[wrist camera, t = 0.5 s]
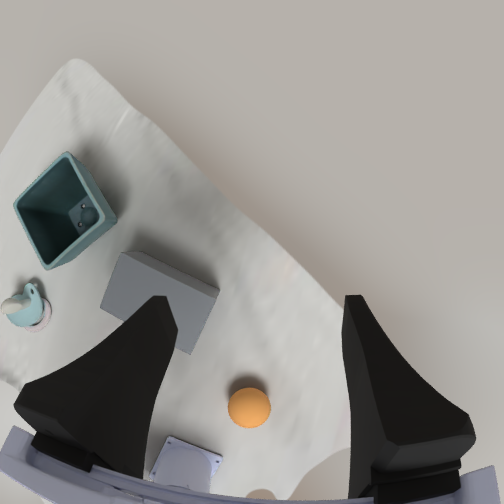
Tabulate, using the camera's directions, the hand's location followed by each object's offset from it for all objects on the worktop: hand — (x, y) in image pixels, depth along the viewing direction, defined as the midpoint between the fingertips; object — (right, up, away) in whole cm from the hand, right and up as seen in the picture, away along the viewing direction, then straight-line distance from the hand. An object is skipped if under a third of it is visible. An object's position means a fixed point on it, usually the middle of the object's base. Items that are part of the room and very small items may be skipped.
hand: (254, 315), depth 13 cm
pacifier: (-30, -5, +23) cm, 38 cm away
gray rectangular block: (-10, -2, +24) cm, 26 cm away
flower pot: (-20, +7, +23) cm, 31 cm away
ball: (0, -16, +22) cm, 27 cm away
